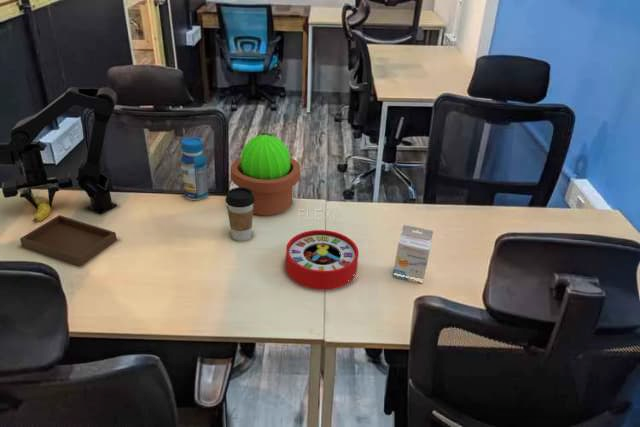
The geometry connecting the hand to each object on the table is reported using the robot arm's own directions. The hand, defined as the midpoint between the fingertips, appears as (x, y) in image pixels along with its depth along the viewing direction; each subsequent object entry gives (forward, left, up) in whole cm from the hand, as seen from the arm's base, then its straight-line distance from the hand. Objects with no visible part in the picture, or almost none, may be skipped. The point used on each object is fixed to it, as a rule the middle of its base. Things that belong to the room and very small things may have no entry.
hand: (44, 208), depth 160 cm
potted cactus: (-52, -46, -1) cm, 69 cm away
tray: (-21, +6, -1) cm, 22 cm away
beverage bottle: (-30, -36, -1) cm, 47 cm away
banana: (+1, +1, -1) cm, 1 cm away
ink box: (-108, -38, -1) cm, 114 cm away
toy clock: (-86, -27, -1) cm, 90 cm away
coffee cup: (-58, -26, -1) cm, 64 cm away
